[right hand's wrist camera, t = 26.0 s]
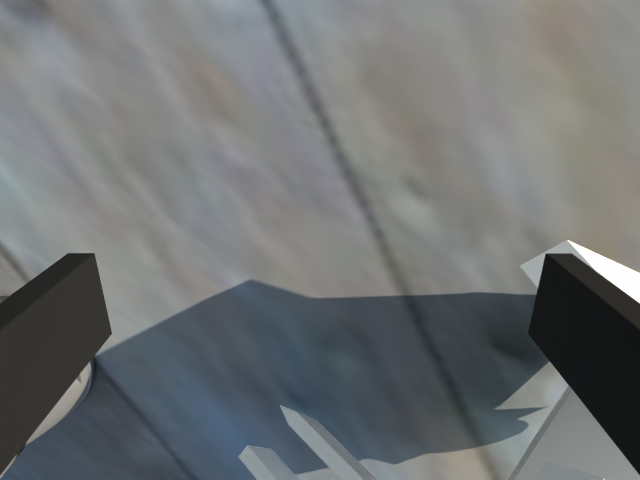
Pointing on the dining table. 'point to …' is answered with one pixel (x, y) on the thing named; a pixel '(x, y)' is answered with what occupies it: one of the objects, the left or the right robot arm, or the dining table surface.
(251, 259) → the dining table surface
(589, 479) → the white plastic object
